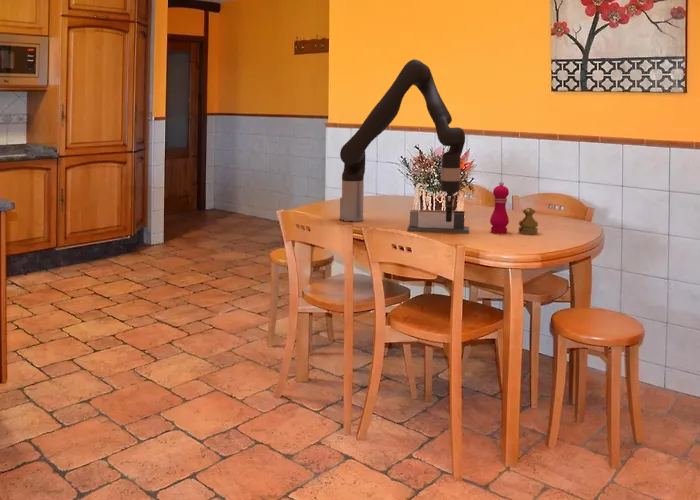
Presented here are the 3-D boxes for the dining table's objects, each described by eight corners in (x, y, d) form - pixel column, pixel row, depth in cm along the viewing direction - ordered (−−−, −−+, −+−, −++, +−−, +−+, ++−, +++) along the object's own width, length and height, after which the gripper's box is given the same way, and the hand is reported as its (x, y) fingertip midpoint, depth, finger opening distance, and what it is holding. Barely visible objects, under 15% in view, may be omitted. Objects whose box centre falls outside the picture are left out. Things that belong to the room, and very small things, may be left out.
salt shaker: (535, 231, 278) (537, 206, 276) (538, 235, 271) (540, 209, 268) (516, 231, 278) (518, 206, 276) (519, 234, 271) (521, 209, 269)
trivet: (407, 231, 276) (407, 228, 276) (409, 227, 285) (409, 224, 285) (468, 233, 273) (468, 230, 272) (468, 229, 281) (469, 226, 281)
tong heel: (409, 226, 278) (410, 211, 277) (410, 224, 283) (411, 209, 281) (417, 226, 278) (417, 211, 276) (418, 224, 282) (418, 210, 281)
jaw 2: (417, 227, 277) (418, 212, 275) (418, 226, 278) (418, 211, 277) (463, 228, 274) (464, 213, 272) (463, 228, 275) (464, 213, 274)
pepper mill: (499, 234, 271) (502, 183, 267) (485, 231, 277) (488, 181, 272) (512, 232, 275) (514, 182, 271) (498, 229, 281) (500, 180, 277)
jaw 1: (418, 224, 282) (419, 210, 280) (419, 224, 283) (419, 209, 282) (464, 226, 279) (464, 211, 277) (464, 225, 280) (464, 211, 279)
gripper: (459, 181, 266) (458, 223, 270) (460, 177, 280) (458, 217, 284) (440, 181, 268) (438, 222, 271) (441, 176, 281) (440, 216, 285)
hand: (449, 219), depth 277 cm, fingers open, 8 cm apart
